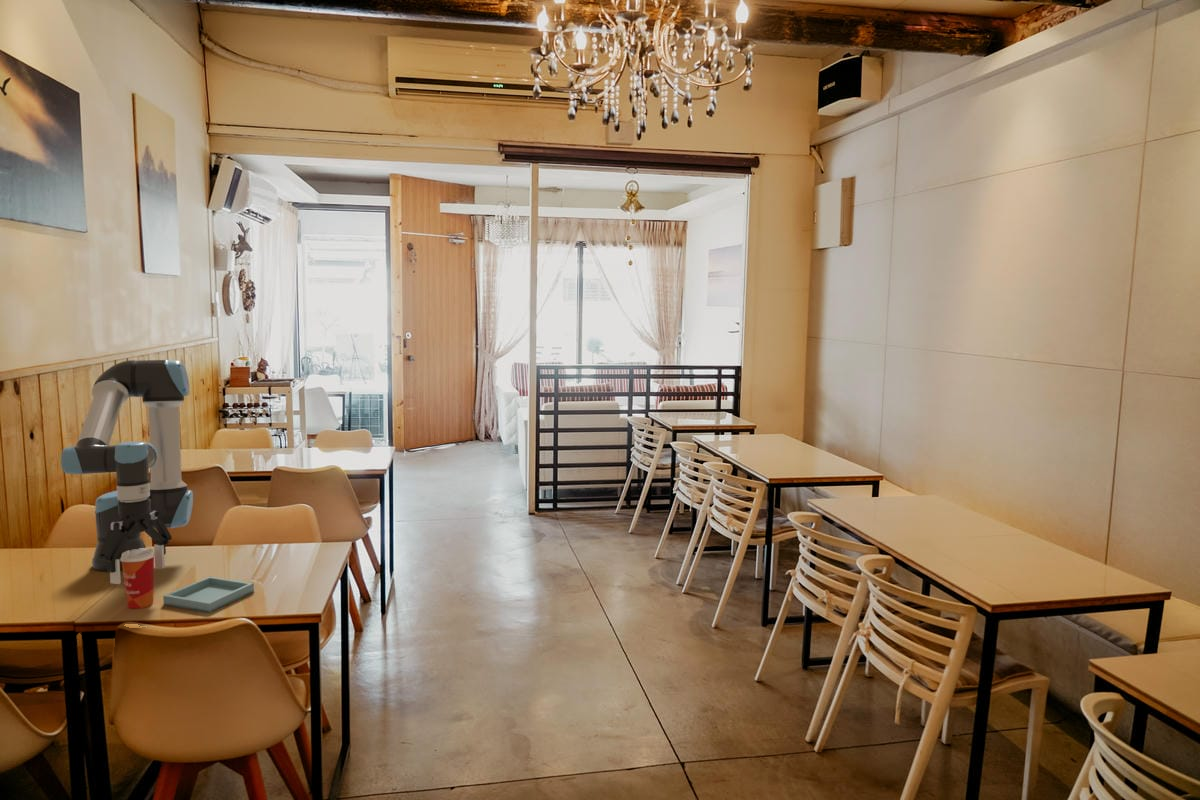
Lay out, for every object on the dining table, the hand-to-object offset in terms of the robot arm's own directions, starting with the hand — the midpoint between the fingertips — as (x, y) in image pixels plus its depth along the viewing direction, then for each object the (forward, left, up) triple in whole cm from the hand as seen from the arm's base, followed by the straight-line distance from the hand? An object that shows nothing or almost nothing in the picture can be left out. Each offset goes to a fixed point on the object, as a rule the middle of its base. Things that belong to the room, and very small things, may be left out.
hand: (138, 575), depth 204 cm
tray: (+14, +10, -9) cm, 19 cm away
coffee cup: (0, 0, -9) cm, 9 cm away
